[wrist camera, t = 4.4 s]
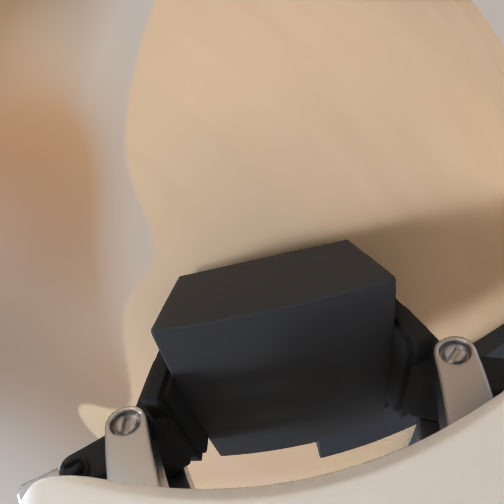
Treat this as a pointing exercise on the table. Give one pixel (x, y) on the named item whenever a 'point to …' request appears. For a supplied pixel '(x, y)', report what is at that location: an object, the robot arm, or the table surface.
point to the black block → (282, 347)
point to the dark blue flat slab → (492, 345)
